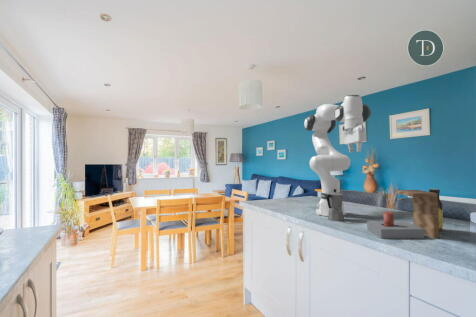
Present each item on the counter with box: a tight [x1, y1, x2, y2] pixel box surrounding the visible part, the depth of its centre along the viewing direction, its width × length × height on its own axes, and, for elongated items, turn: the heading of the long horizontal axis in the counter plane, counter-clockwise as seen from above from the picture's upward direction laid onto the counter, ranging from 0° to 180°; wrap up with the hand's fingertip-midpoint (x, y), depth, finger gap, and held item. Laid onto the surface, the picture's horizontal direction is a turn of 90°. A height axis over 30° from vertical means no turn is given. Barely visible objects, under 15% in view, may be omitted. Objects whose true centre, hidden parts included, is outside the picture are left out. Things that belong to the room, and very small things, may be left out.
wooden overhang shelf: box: [394, 189, 440, 239], centre depth 113 cm, size 14×10×20 cm
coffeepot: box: [327, 189, 345, 222], centre depth 144 cm, size 15×9×18 cm, turn 129°
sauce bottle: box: [428, 188, 444, 232], centre depth 118 cm, size 7×6×20 cm
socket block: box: [366, 220, 426, 239], centre depth 113 cm, size 14×18×4 cm
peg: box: [382, 211, 395, 227], centre depth 114 cm, size 4×4×10 cm
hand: (354, 152), depth 126 cm, fingers open, 8 cm apart
